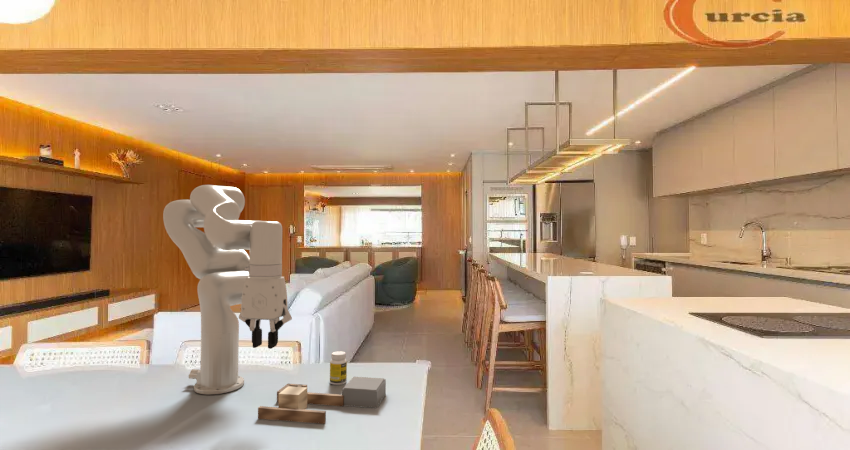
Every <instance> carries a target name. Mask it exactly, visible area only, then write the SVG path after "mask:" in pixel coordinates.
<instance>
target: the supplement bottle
mask: <svg viewBox="0 0 850 450" xmlns="http://www.w3.org/2000/svg"><path fill="white" fill-rule="evenodd" d="M346 354H347V353H346V352H345V351H341V350H339V351H338V350H337V351H333V352H332V353H331V359H330V360H329V383H330V384H331V385H332V386H333V385H334V386H341V385H345V384H347V383H346V382H347V379H348V377H347V376H348V375H347V373H348V372H347V365H348V361H347V359H346V357H347V355H346Z"/></svg>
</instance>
